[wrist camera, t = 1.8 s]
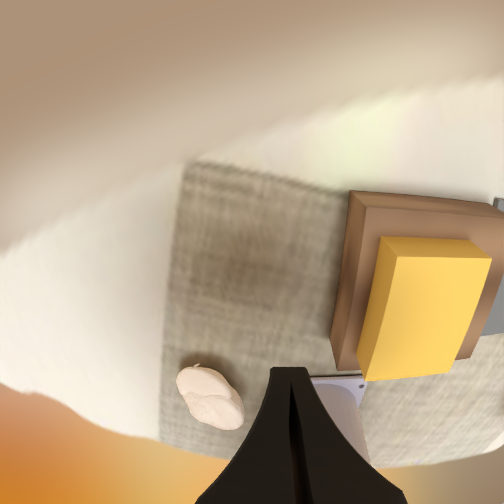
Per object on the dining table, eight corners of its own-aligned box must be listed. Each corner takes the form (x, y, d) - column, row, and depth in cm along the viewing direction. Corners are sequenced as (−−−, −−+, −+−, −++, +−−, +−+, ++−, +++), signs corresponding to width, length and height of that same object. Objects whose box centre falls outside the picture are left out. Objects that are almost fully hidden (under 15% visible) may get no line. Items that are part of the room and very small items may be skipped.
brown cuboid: (452, 331, 23) (469, 357, 20) (329, 338, 23) (337, 370, 20) (489, 204, 18) (518, 220, 15) (349, 190, 19) (366, 207, 15)
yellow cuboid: (435, 347, 19) (448, 372, 17) (356, 353, 19) (364, 381, 17) (469, 240, 16) (492, 258, 14) (380, 236, 16) (397, 256, 14)
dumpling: (255, 400, 26) (254, 436, 23) (202, 408, 27) (195, 442, 24) (226, 344, 24) (220, 382, 20) (166, 356, 25) (154, 391, 21)
